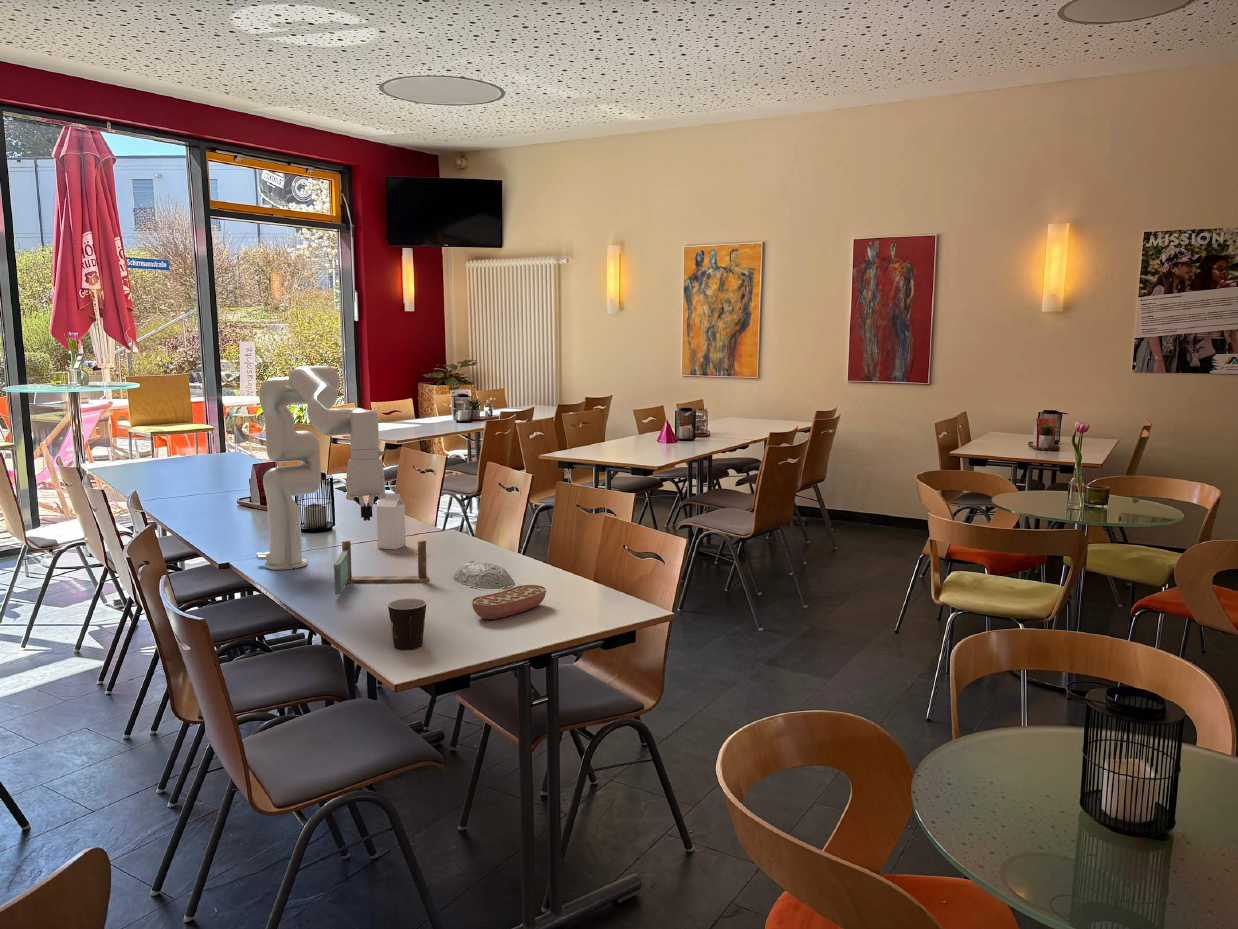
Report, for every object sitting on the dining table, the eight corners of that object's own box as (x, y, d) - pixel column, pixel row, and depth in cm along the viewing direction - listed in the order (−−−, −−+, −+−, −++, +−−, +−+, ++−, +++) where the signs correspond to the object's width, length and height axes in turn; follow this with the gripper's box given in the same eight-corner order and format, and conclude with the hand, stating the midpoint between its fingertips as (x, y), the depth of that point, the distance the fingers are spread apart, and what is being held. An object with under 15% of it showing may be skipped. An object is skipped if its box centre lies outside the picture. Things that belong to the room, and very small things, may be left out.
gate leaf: (344, 577, 255) (343, 549, 254) (349, 577, 256) (348, 549, 255) (334, 594, 237) (333, 564, 236) (340, 594, 237) (339, 564, 236)
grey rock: (486, 592, 245) (487, 569, 245) (437, 580, 263) (438, 558, 263) (529, 588, 256) (530, 565, 256) (479, 576, 274) (480, 555, 274)
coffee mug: (396, 639, 205) (395, 598, 204) (432, 640, 205) (431, 599, 203) (378, 655, 194) (377, 612, 193) (416, 657, 193) (415, 613, 192)
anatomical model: (529, 600, 239) (529, 582, 239) (555, 607, 233) (555, 589, 232) (464, 619, 222) (464, 600, 221) (490, 627, 215) (490, 607, 215)
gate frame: (340, 583, 255) (339, 543, 253) (344, 579, 259) (342, 540, 257) (426, 582, 256) (425, 542, 255) (428, 579, 260) (427, 539, 259)
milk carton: (396, 549, 298) (395, 495, 296) (377, 548, 300) (376, 494, 297) (405, 545, 305) (404, 492, 303) (387, 544, 307) (385, 491, 304)
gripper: (391, 452, 246) (393, 516, 248) (336, 453, 241) (338, 518, 243) (394, 455, 239) (395, 520, 241) (337, 457, 234) (339, 523, 236)
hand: (366, 519), depth 242 cm, fingers closed
